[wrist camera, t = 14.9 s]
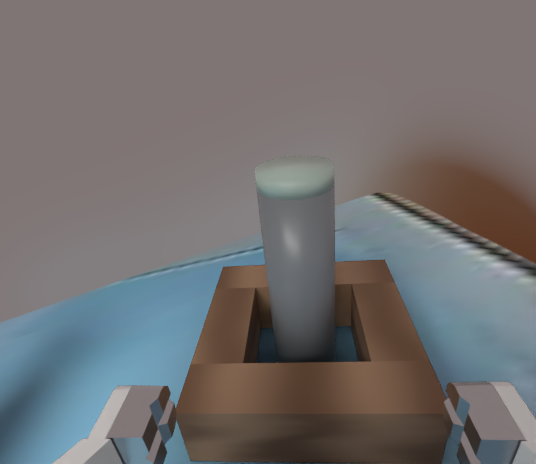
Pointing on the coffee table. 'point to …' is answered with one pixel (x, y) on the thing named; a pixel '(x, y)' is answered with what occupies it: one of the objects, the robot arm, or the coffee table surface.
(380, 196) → the coffee table surface
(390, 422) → the square wooden frame
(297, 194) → the grey domed cylinder
